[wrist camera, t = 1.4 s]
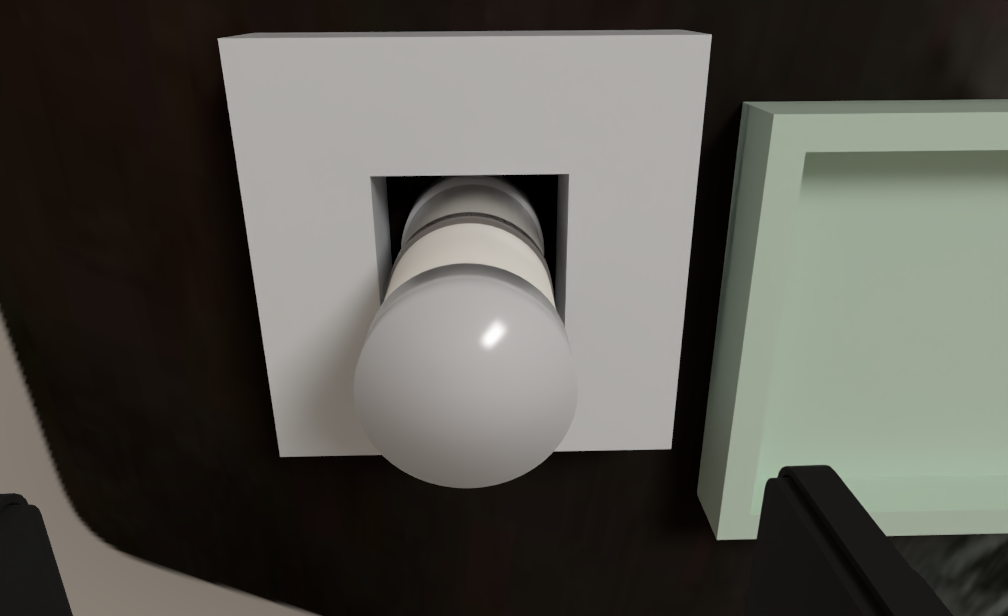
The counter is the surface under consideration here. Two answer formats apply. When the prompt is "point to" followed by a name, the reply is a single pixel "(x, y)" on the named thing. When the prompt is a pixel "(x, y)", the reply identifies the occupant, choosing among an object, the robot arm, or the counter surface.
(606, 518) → the counter surface
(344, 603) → the counter surface
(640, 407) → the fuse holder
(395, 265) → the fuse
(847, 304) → the parts tray
